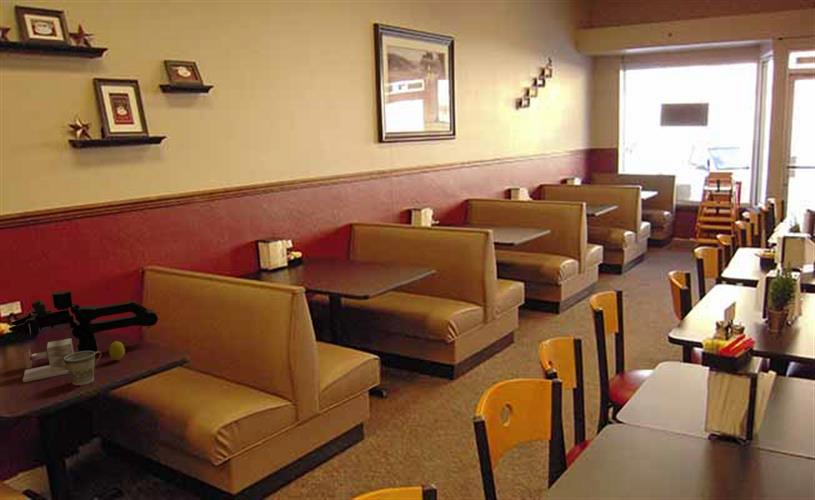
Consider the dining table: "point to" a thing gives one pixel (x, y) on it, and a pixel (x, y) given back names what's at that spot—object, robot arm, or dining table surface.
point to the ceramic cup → (81, 366)
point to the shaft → (33, 356)
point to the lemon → (116, 350)
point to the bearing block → (59, 353)
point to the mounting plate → (41, 373)
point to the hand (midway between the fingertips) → (10, 326)
